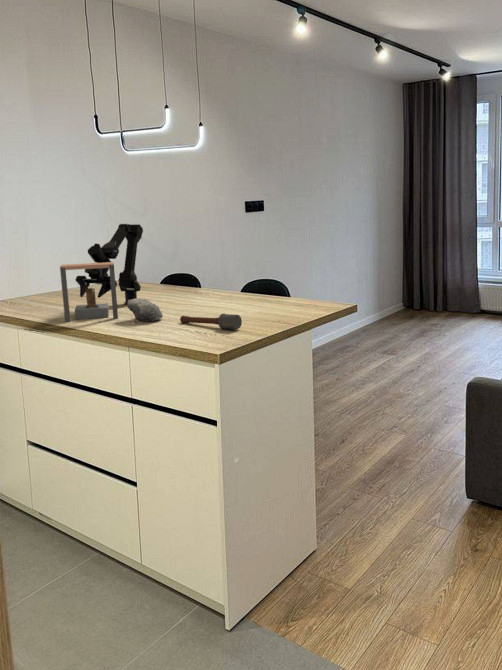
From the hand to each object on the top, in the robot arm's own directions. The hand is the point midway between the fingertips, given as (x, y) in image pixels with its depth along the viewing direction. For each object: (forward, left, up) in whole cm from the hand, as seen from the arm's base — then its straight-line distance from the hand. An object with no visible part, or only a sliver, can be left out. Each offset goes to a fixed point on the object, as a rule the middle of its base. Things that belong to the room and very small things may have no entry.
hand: (89, 297), depth 278 cm
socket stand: (+2, +1, -8) cm, 9 cm away
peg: (-1, +1, -8) cm, 9 cm away
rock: (+19, +23, -9) cm, 31 cm away
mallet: (+43, +46, -9) cm, 64 cm away
